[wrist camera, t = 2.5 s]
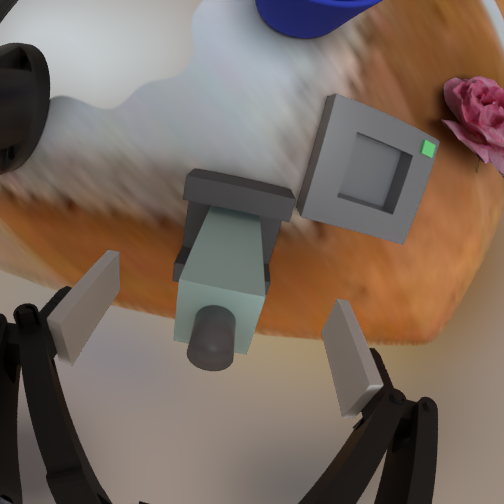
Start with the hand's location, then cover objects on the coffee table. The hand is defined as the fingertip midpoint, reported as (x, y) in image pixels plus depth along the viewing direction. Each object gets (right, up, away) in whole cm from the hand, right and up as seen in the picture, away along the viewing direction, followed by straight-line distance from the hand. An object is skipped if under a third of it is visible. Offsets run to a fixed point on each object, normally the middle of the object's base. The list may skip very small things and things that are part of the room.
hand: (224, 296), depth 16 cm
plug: (0, +5, +8) cm, 9 cm away
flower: (+23, +16, +3) cm, 28 cm away
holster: (0, +5, +9) cm, 10 cm away
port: (+11, +10, +6) cm, 16 cm away
